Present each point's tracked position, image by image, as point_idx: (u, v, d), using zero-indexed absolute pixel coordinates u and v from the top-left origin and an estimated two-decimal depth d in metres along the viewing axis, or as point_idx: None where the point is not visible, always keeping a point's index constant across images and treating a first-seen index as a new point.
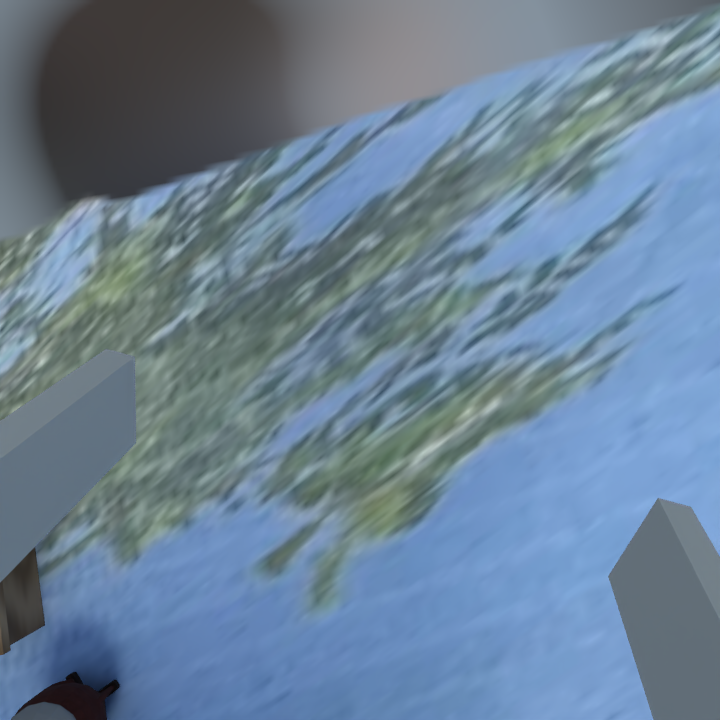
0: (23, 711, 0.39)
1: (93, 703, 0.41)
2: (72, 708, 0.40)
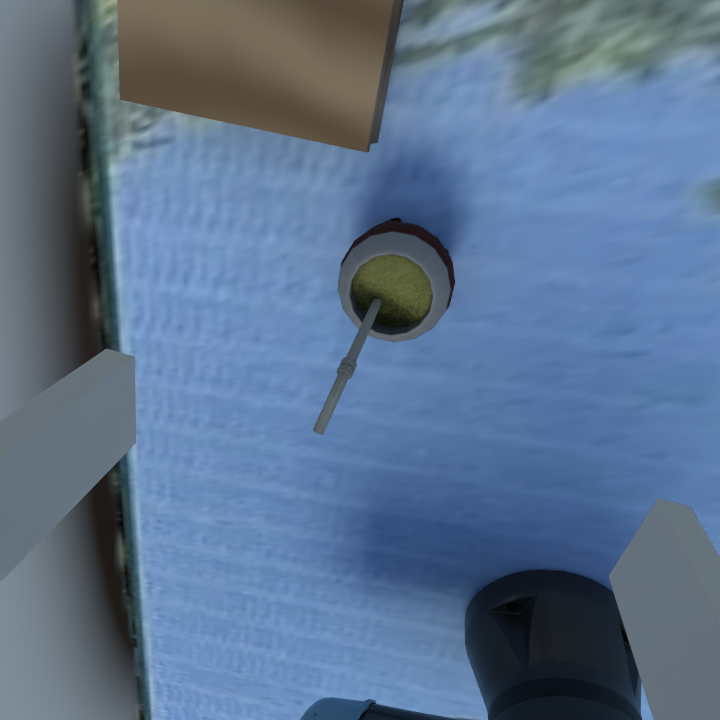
0: (390, 235, 0.28)
1: None
2: (444, 259, 0.29)
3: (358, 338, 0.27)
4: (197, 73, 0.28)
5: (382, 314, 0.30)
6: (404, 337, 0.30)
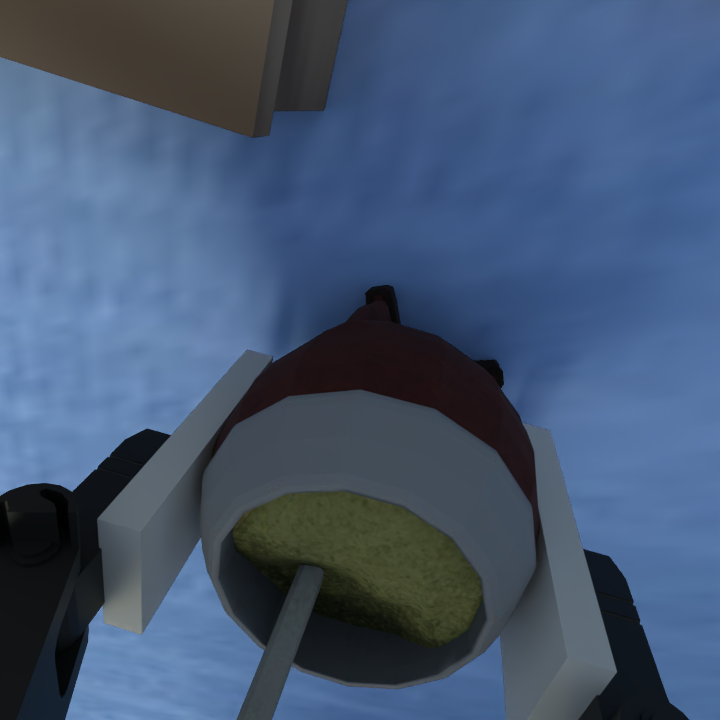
0: (350, 411, 0.08)
1: None
2: (522, 474, 0.09)
3: None
4: None
5: (327, 595, 0.11)
6: None
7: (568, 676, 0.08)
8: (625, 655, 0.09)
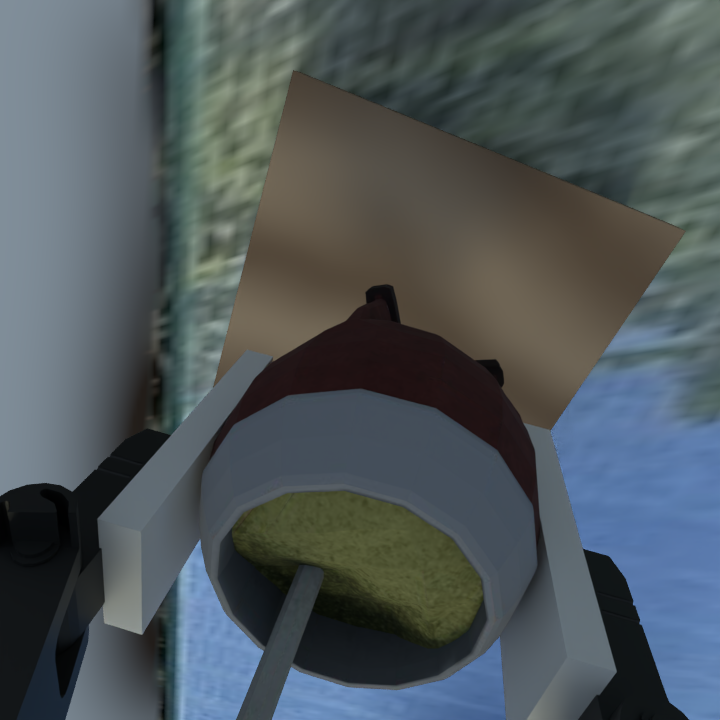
0: (350, 410, 0.08)
1: None
2: (523, 474, 0.09)
3: None
4: None
5: (326, 595, 0.11)
6: None
7: (567, 676, 0.08)
8: (625, 655, 0.09)
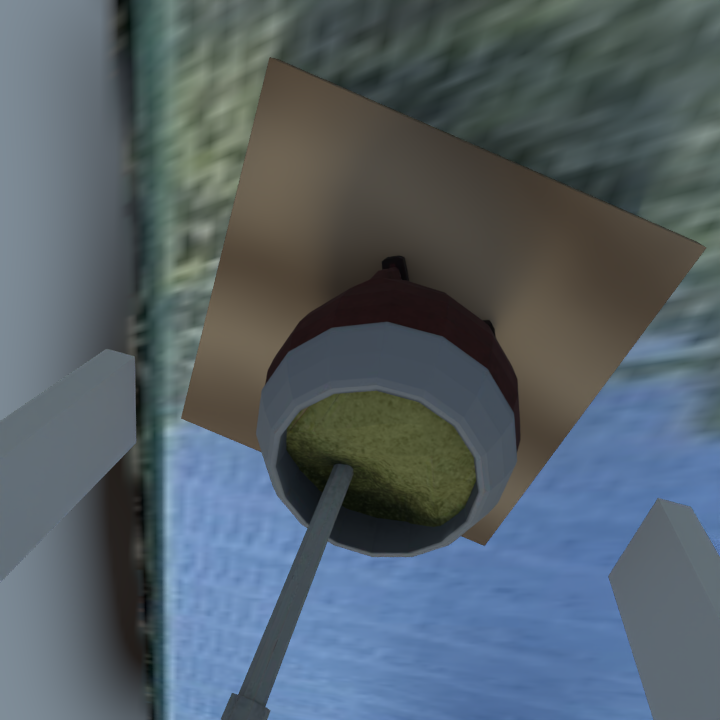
0: (380, 335, 0.11)
1: None
2: (507, 390, 0.12)
3: (284, 608, 0.11)
4: None
5: (354, 491, 0.14)
6: None
7: None
8: None
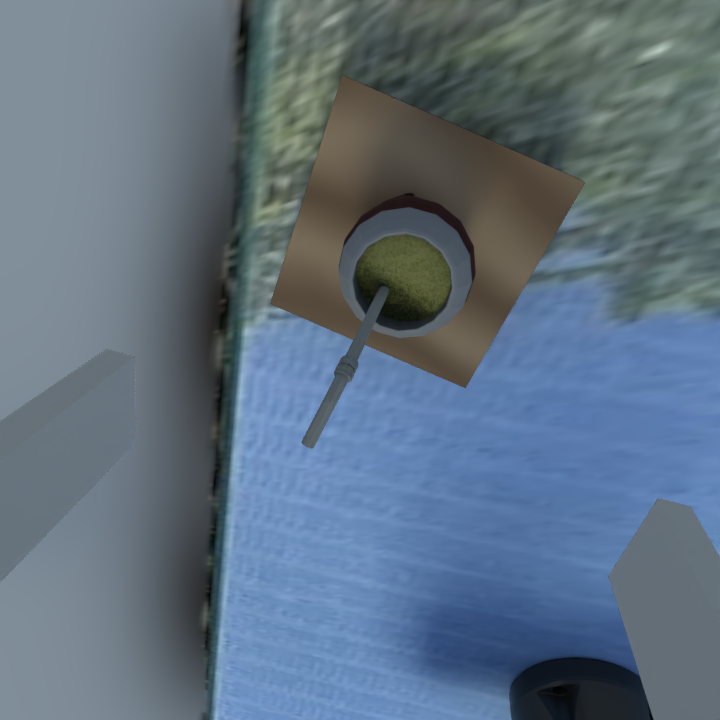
0: (406, 212, 0.24)
1: None
2: (467, 245, 0.25)
3: (361, 333, 0.23)
4: (342, 304, 0.34)
5: (388, 305, 0.26)
6: (413, 334, 0.25)
7: None
8: None
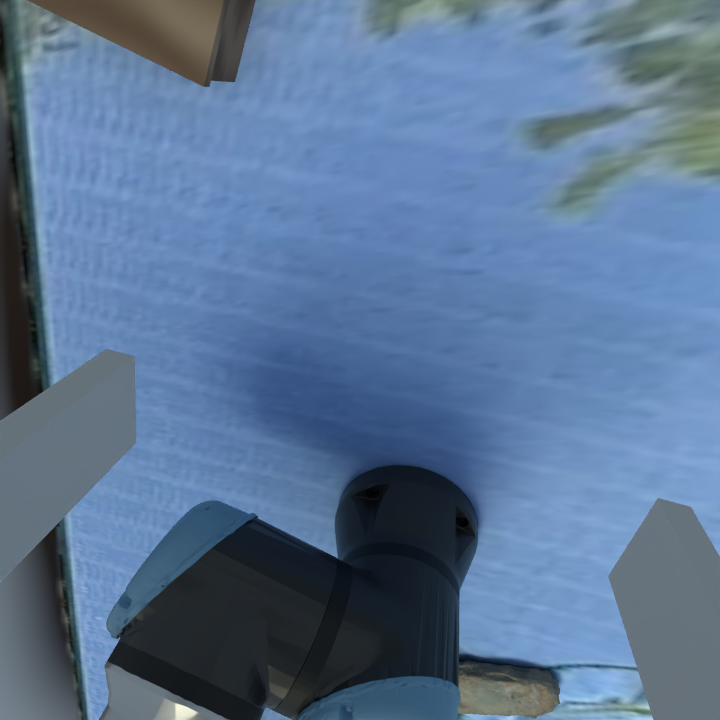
0: None
1: None
2: None
3: None
4: None
5: None
6: None
7: None
8: None
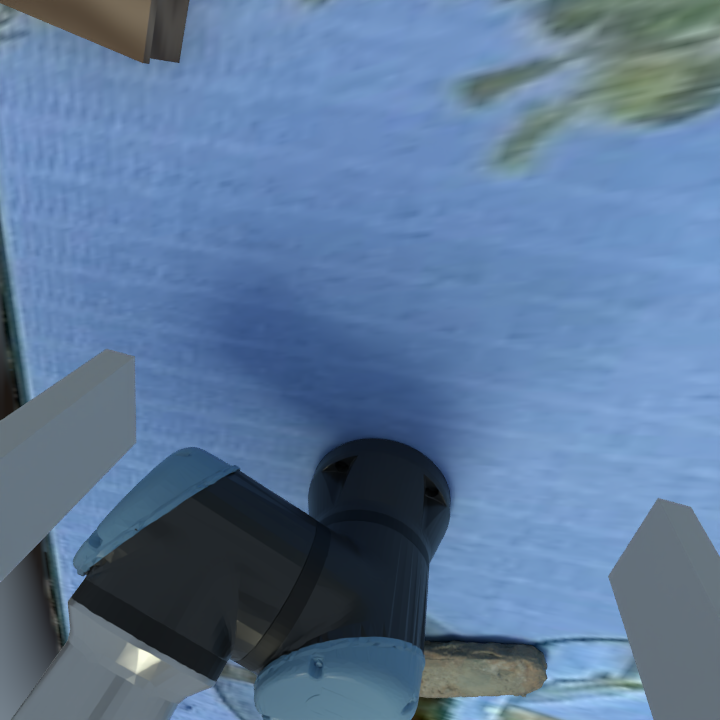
0: None
1: None
2: None
3: None
4: None
5: None
6: None
7: None
8: None
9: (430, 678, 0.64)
